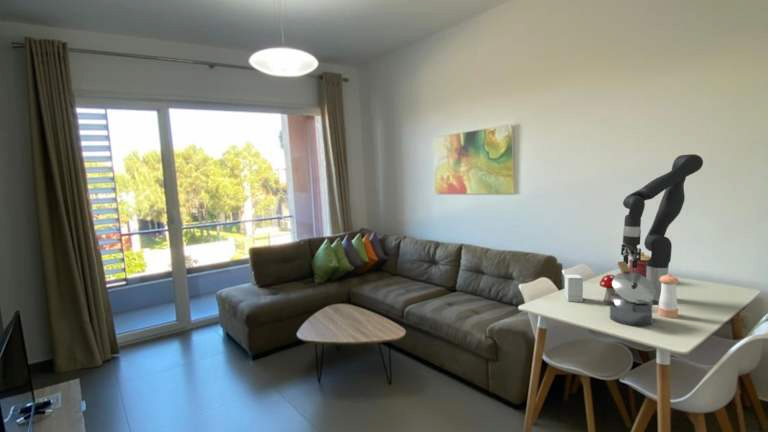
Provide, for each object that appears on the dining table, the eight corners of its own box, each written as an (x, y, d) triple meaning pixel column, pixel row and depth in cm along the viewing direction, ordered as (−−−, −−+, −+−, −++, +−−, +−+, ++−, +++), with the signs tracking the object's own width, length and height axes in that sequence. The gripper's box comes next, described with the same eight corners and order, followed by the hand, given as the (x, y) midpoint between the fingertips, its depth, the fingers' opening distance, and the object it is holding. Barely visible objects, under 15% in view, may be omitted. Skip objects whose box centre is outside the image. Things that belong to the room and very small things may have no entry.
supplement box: (583, 301, 206) (583, 277, 204) (567, 301, 207) (567, 277, 206) (579, 297, 213) (579, 274, 212) (564, 297, 214) (564, 274, 213)
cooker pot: (646, 313, 185) (646, 292, 184) (670, 328, 167) (671, 305, 166) (597, 313, 188) (597, 293, 187) (616, 328, 170) (616, 305, 169)
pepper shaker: (671, 319, 178) (672, 277, 176) (654, 314, 184) (655, 273, 183) (681, 316, 181) (682, 274, 179) (664, 311, 187) (665, 271, 185)
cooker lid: (639, 263, 185) (641, 259, 183) (662, 305, 168) (664, 301, 166) (602, 264, 187) (603, 260, 185) (620, 305, 170) (622, 301, 168)
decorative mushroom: (600, 306, 198) (600, 276, 197) (598, 300, 206) (598, 272, 205) (623, 307, 195) (624, 277, 193) (620, 302, 203) (620, 273, 201)
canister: (623, 279, 245) (623, 250, 243) (642, 277, 246) (643, 249, 244) (639, 284, 232) (639, 254, 230) (659, 283, 233) (660, 253, 232)
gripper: (647, 237, 196) (645, 269, 197) (632, 233, 210) (630, 263, 211) (631, 237, 196) (629, 269, 198) (617, 232, 210) (615, 263, 212)
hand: (629, 266), depth 205 cm, fingers open, 8 cm apart
